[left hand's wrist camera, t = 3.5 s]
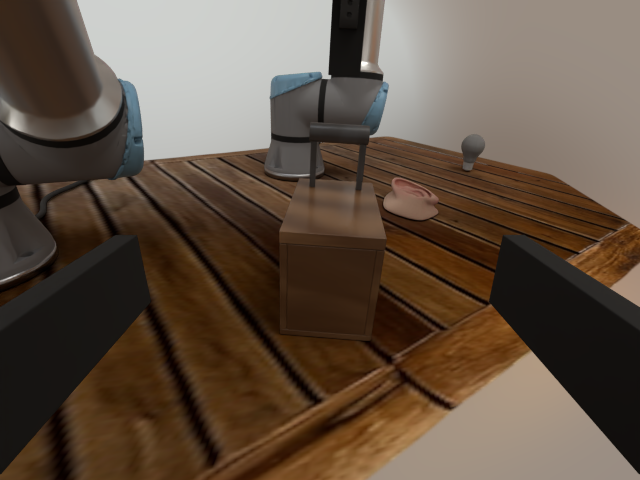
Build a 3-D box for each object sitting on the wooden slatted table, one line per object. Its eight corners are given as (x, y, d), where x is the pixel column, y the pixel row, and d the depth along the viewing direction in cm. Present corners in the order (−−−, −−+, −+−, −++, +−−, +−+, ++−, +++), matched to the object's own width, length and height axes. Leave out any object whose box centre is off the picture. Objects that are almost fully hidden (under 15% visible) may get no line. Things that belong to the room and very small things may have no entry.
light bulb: (458, 172, 95) (467, 135, 90) (453, 166, 100) (461, 131, 96) (480, 174, 94) (490, 137, 90) (474, 168, 100) (483, 133, 95)
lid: (299, 186, 44) (300, 117, 40) (371, 191, 44) (379, 122, 40) (279, 243, 30) (278, 145, 26) (384, 250, 30) (400, 153, 26)
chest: (297, 259, 49) (298, 188, 44) (362, 264, 49) (371, 193, 44) (279, 334, 35) (279, 243, 30) (370, 341, 35) (384, 251, 30)
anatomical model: (439, 204, 60) (376, 192, 64) (434, 224, 62) (373, 211, 66) (445, 183, 71) (391, 175, 75) (441, 201, 73) (389, 192, 77)
